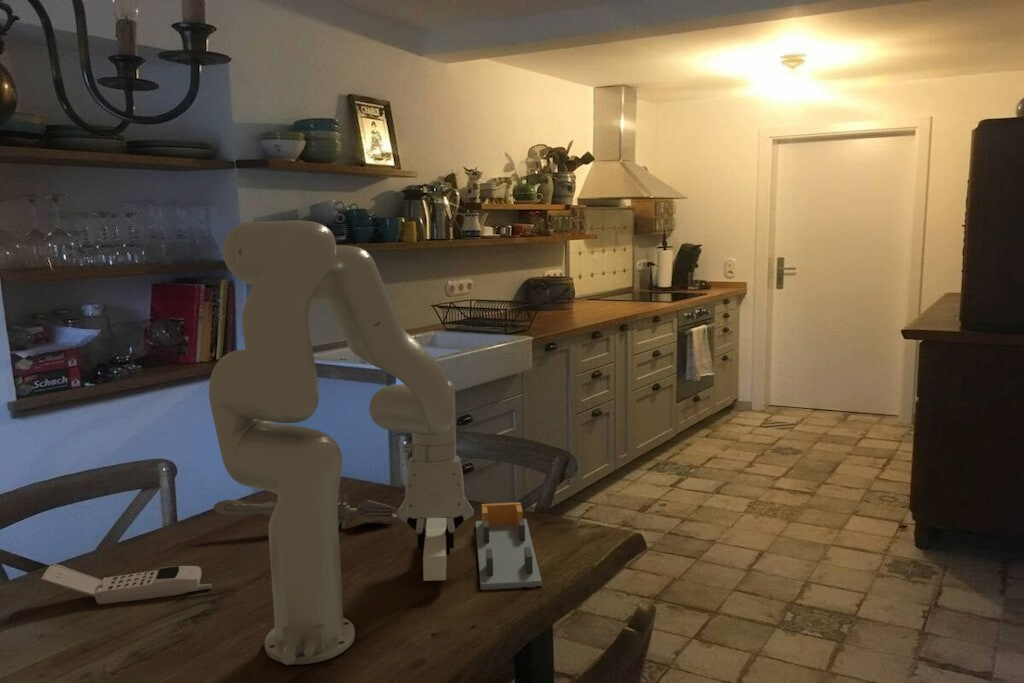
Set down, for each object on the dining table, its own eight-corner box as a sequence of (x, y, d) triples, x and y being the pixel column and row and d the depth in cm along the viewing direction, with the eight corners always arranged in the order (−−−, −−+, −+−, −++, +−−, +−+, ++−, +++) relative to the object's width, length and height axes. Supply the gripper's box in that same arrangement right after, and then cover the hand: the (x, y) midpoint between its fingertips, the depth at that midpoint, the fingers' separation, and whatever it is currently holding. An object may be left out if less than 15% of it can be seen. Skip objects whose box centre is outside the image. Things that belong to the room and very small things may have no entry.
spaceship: (219, 487, 162) (212, 484, 154) (396, 493, 167) (398, 491, 160) (215, 528, 160) (207, 527, 152) (394, 533, 165) (395, 532, 158)
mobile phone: (49, 563, 133) (211, 544, 139) (53, 597, 134) (214, 577, 140) (38, 579, 127) (208, 559, 133) (42, 614, 128) (211, 593, 134)
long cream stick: (445, 579, 132) (445, 556, 132) (423, 580, 132) (423, 556, 131) (446, 534, 154) (446, 514, 154) (427, 535, 154) (427, 514, 153)
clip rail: (541, 586, 133) (541, 557, 133) (480, 589, 133) (480, 560, 132) (526, 523, 161) (525, 499, 160) (475, 526, 160) (475, 501, 159)
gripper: (384, 457, 136) (386, 562, 139) (482, 455, 138) (483, 559, 140) (387, 446, 144) (390, 546, 146) (481, 444, 145) (482, 543, 147)
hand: (436, 551), depth 143 cm, fingers closed on long cream stick, 3 cm apart
